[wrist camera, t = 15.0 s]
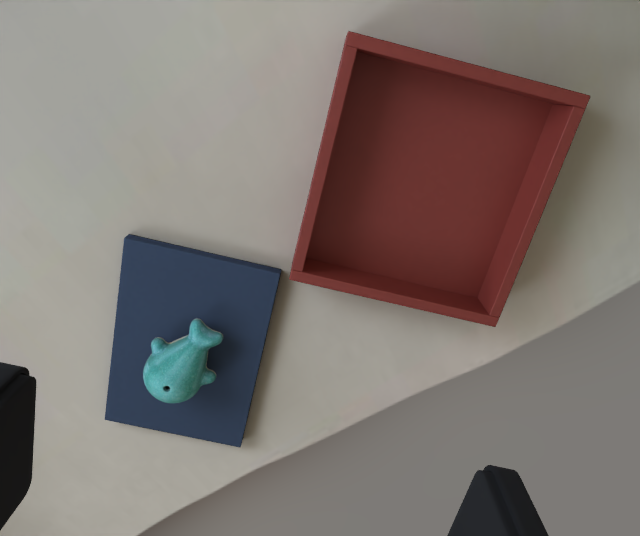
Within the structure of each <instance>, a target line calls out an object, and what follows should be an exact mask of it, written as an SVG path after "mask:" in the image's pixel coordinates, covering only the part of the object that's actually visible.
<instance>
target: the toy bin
mask: <svg viewBox="0 0 640 536" xmlns="http://www.w3.org/2000/svg"><path fill="white" fill-rule="evenodd" d="M589 99H590V96H589V95H586V94H582V93H578V92H574V91H571V90H567V89H563V88H559V87H556V86H552V85H548V84H545V83H541V82H537V81H533V80H530V79H526V78H522V77H518V76H515V75H511V74H507V73H503V72H500V71H496V70H492V69H488V68H485V67H481V66H477V65H473V64H470V63H466V62H462V61H459V60H455V59H451V58H447V57H444V56H440V55H436V54H432V53H429V52H425V51H421V50H417V49H414V48H410V47H406V46H402V45H399V44H395V43H391V42H388V41H384V40H380V39H376V38H373V37H369V36H365V35H361V34H358V33H354V32H350V31H349V32H348V34H347V36H346V40H345V44H344V48H343V52H342V57H341V61H340V65H339V69H338V73H337V78H336V82H335V86H334V90H333V94H332V99H331V103H330V107H329V111H328V115H327V120H326V124H325V128H324V132H323V136H322V141H321V145H320V149H319V153H318V157H317V162H316V166H315V170H314V174H313V178H312V183H311V187H310V191H309V195H308V199H307V204H306V208H305V212H304V216H303V221H302V225H301V229H300V233H299V237H298V242H297V246H296V250H295V254H294V258H293V263H292V268H291V273H290V278H289V279H290V280H294V281H298V282H302V283H307V284H311V285H315V286H320V287H324V288H328V289H333V290H337V291H341V292H346V293H350V294H354V295H359V296H363V297H367V298H372V299H376V300H380V301H385V302H389V303H393V304H398V305H402V306H407V307H411V308H415V309H420V310H424V311H428V312H433V313H437V314H441V315H446V316H450V317H454V318H459V319H463V320H467V321H472V322H476V323H480V324H485V325H489V326H493V327H496V324H497V322H498V320H499V317H500V315H501V312H502V310H503V307H504V305H505V303H506V300H507V298H508V295H509V293H510V291H511V288H512V286H513V283H514V281H515V278H516V276H517V274H518V271H519V269H520V266H521V264H522V261H523V259H524V257H525V254H526V252H527V249H528V247H529V244H530V242H531V240H532V237H533V235H534V232H535V230H536V227H537V225H538V223H539V220H540V218H541V215H542V213H543V210H544V208H545V206H546V203H547V201H548V198H549V196H550V193H551V191H552V189H553V186H554V184H555V181H556V179H557V176H558V174H559V172H560V169H561V167H562V164H563V162H564V159H565V157H566V155H567V152H568V150H569V147H570V145H571V143H572V140H573V138H574V135H575V133H576V130H577V128H578V126H579V123H580V121H581V118H582V116H583V113H584V111H585V108H586V106H587V104H588V101H589Z"/></svg>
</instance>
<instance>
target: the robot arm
mask: <svg viewBox="0 0 640 536" xmlns="http://www.w3.org/2000/svg"><path fill="white" fill-rule="evenodd" d="M35 400H36V379H35V378H34V377H31V376H29V371H28V369H27V368H25V367H20V366H15V365H11V364H6V363H1V362H0V530H1V529H2V527H3V526H4V525H5V523H6V522H7V520H8V519H9V518H10V516H11V515H12V514H13V512H14V511H15V509H16V508H17V507H18V505H19V504H20V503H21V501H22V500H23V498H24V497H25V495H26V493H27V491H28V489H29V487H30V484H31V479H32V463H33V442H34V421H35ZM448 536H548V534H547V532H546V530H545V528H544V525H543V523H542V521H541V519H540V517H539V515H538V513H537V511H536V509H535V507H534V505H533V503H532V501H531V499H530V496H529V494H528V493H527V490H526V488H525V486H524V484H523V482H522V480H521V478H520V476H519V475H518V473H517V472H516V471H515V470H511V469H506V468H502V467H497V466H492V465H488V466H487V467H485V468H484V470H483V471H481V470H479V471H477V472H476V474H475V476H474V478H473V480H472V482H471V485H470V486H469V489H468V491H467V493H466V496H465V498H464V500H463V503H462V504H461V507H460V509H459V511H458V513H457V516H456V518H455V520H454V522H453V524H452V527H451V529H450V531H449V534H448Z"/></svg>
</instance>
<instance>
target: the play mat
mask: <svg viewBox="0 0 640 536" xmlns="http://www.w3.org/2000/svg"><path fill="white" fill-rule="evenodd" d="M280 275H281V269H277V268H273V267H269V266H264V265H260V264H256V263H251V262H247V261H243V260H238V259H234V258H230V257H226V256H221V255H217V254H213V253H208V252H204V251H200V250H195V249H191V248H187V247H182V246H178V245H174V244H169V243H165V242H161V241H156V240H152V239H148V238H143V237H139V236H135V235H130V234H129V235H128V236H126V237H125V238H124V246H123V256H122V265H121V274H120V284H119V293H118V302H117V311H116V321H115V330H114V339H113V348H112V358H111V367H110V376H109V385H108V395H107V404H106V413H105V420H109V421H114V422H119V423H124V424H129V425H133V426H138V427H143V428H148V429H153V430H158V431H163V432H168V433H173V434H177V435H182V436H187V437H192V438H197V439H202V440H207V441H212V442H216V443H221V444H226V445H231V446H236V447H241V443H242V439H243V435H244V431H245V426H246V422H247V418H248V413H249V409H250V405H251V400H252V396H253V392H254V387H255V383H256V379H257V374H258V370H259V366H260V361H261V357H262V353H263V348H264V344H265V340H266V335H267V331H268V327H269V322H270V318H271V314H272V309H273V305H274V301H275V296H276V292H277V288H278V283H279V279H280ZM197 318H198V319H201V320H202V321H203V323H204V324H205V325H206V326H207V327H209V328H210V329H212V330H214V331H217V332H220V333H222V335H223V340H222V342H221V343H220V344H218V345H216V346H214V347H212V348H210V349H209V350H208V358H207V364H206V366H207V368H208V369H210V370H213V371H214V372H215V373H216V379H215V380H214V382H212V383H210V384H206V385H202V386H201V387H200V388H199V390H198V392H197V393H196V394H195V395H194V396H193V397H191V398H190V399H188V400H186V401H184V402H180V403H165V402H162V401H160V400H158V399H156V398H155V397H154V396H152V395H151V394H150V392H149V391H148V390H147V388H146V386H145V383H144V379H143V370H144V366H145V363H146V361H147V359H148V358H149V357H150V355H151V354H152V349H151V343H152V341H153V340H154V339H155V338H157V337H161V338H163V339H164V340H165V341H166V342H168V343H170V342H173V341H175V340H177V339H179V338H182V337H184V336H187V335H189V329H190V324H191V322H192V321H193V320H194V319H197Z"/></svg>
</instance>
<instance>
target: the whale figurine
mask: <svg viewBox="0 0 640 536" xmlns="http://www.w3.org/2000/svg"><path fill="white" fill-rule="evenodd" d="M222 340H223V335H222V333H220V332H217V331H214V330H212V329H210V328H209V327H207V326H206V325H205V324H204V323H203V321H202V320H201V319H198V318H197V319H194V320H193V321H192V322H191V324H190V329H189V335H187V336H184V337H182V338H179V339H177V340H175V341H173V342H170V343H168V342H166V341H165V340H164V339H163V338H161V337H157V338H155V339H154V340H153V341H152V343H151V349H152V354H151V355H150V357H149V358H148V359H147V361H146V363H145V366H144V370H143V379H144V383H145V386H146V388H147V390H148V391H149V392H150V394H151V395H152V396H154V397H155V398H156V399H158V400H160V401H162V402H165V403H180V402H184V401H186V400H188V399H190V398H191V397H193V396H194V395H195V394H196V393H197V392H198V390H199V388H200V387H201V386H202V385H206V384H210V383H212V382H214V380H215V379H216V373H215V372H214V371H213V370H210V369H208V368H207V366H206V364H207V358H208V350H209V349H210V348H212V347H214V346H216V345H218V344H220V343H221V342H222Z"/></svg>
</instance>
